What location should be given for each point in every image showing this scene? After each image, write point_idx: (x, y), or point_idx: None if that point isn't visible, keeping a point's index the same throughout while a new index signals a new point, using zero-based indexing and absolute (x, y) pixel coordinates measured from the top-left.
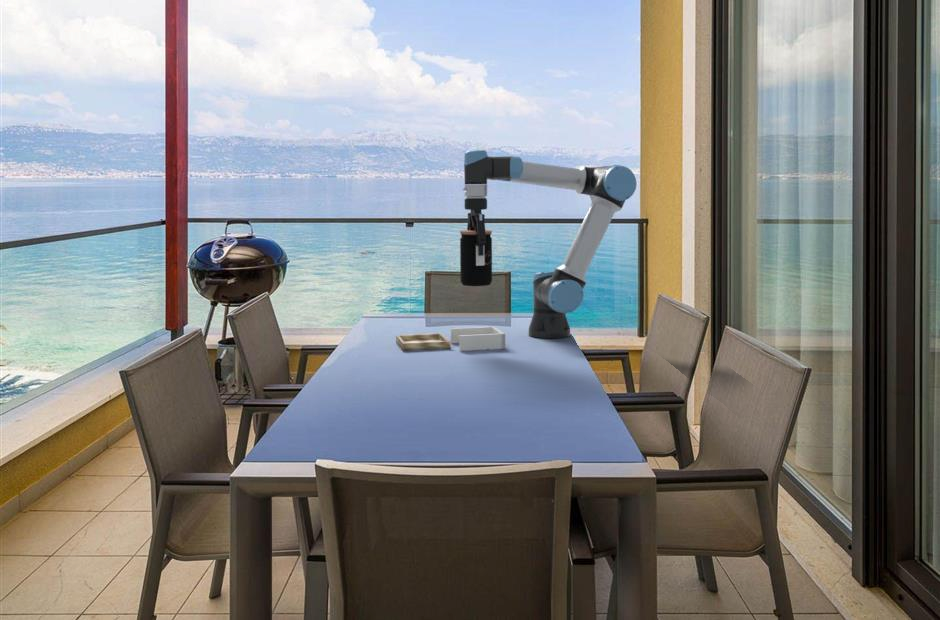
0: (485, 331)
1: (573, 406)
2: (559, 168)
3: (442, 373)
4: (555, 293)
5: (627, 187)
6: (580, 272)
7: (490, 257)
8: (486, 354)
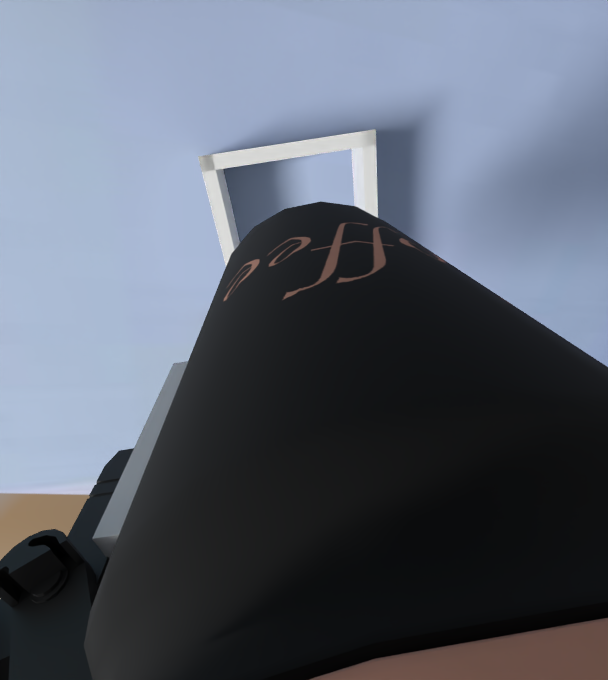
0: (223, 192)
1: None
2: None
3: (596, 327)
4: None
5: None
6: None
7: (460, 272)
8: (435, 209)
